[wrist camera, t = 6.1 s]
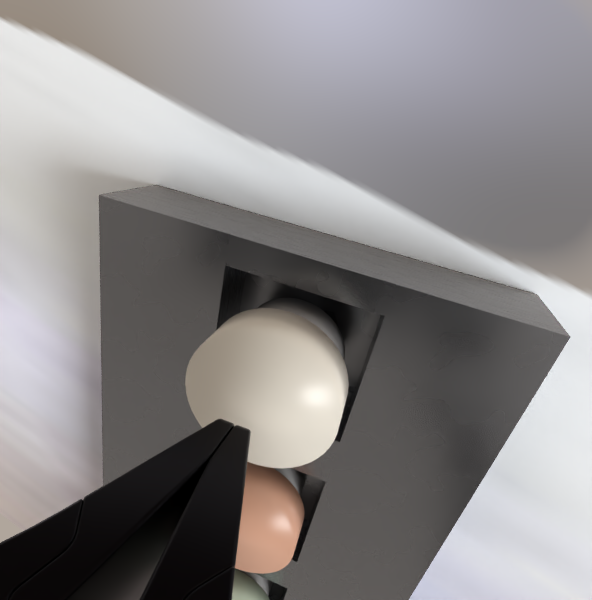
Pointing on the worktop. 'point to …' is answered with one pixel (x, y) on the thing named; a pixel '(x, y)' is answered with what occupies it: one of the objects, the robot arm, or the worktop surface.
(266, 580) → the button sage
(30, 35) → the worktop surface
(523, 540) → the worktop surface
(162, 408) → the console
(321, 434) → the button ivory
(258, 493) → the button terracotta
